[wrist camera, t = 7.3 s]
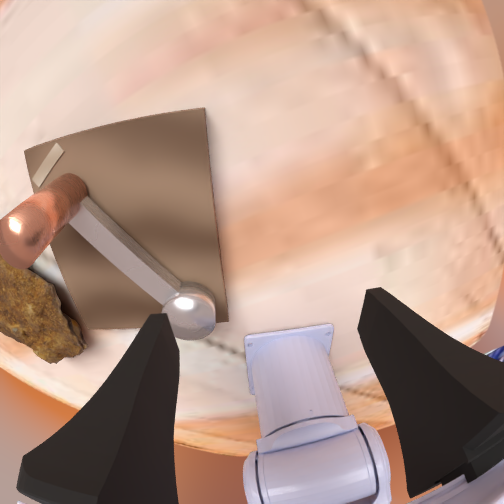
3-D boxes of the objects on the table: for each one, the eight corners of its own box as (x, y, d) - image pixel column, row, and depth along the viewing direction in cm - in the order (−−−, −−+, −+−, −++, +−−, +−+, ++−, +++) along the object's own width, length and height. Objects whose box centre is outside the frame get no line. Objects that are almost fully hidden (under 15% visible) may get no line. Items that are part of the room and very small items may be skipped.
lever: (225, 303, 21) (230, 378, 15) (190, 327, 22) (186, 400, 16) (71, 158, 14) (9, 197, 9) (43, 199, 15) (-14, 249, 10)
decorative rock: (111, 286, 22) (-19, 205, 17) (96, 317, 18) (-46, 223, 13) (83, 362, 26) (-24, 295, 21) (72, 392, 22) (-43, 317, 17)
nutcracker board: (227, 308, 23) (228, 322, 22) (92, 317, 23) (87, 330, 21) (204, 107, 16) (203, 108, 14) (35, 145, 15) (23, 151, 14)
